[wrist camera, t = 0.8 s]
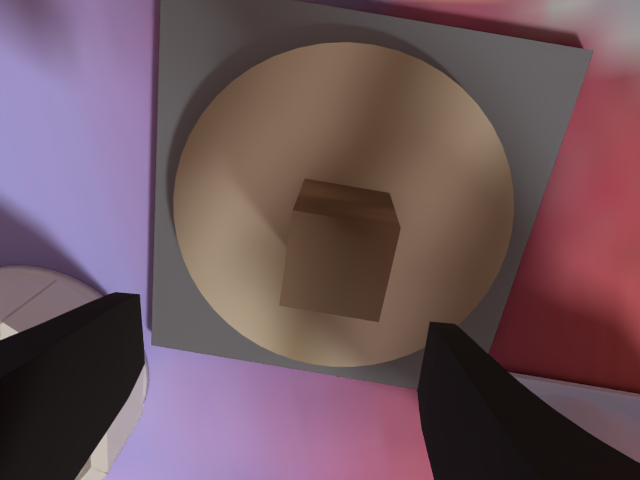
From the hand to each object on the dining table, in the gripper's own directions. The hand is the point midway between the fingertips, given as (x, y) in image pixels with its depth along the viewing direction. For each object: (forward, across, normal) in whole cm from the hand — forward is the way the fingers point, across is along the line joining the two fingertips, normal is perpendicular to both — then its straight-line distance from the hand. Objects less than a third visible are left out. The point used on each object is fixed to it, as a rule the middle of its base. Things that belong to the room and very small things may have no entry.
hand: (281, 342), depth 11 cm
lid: (+8, -1, -1) cm, 8 cm away
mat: (+8, -1, -1) cm, 9 cm away
